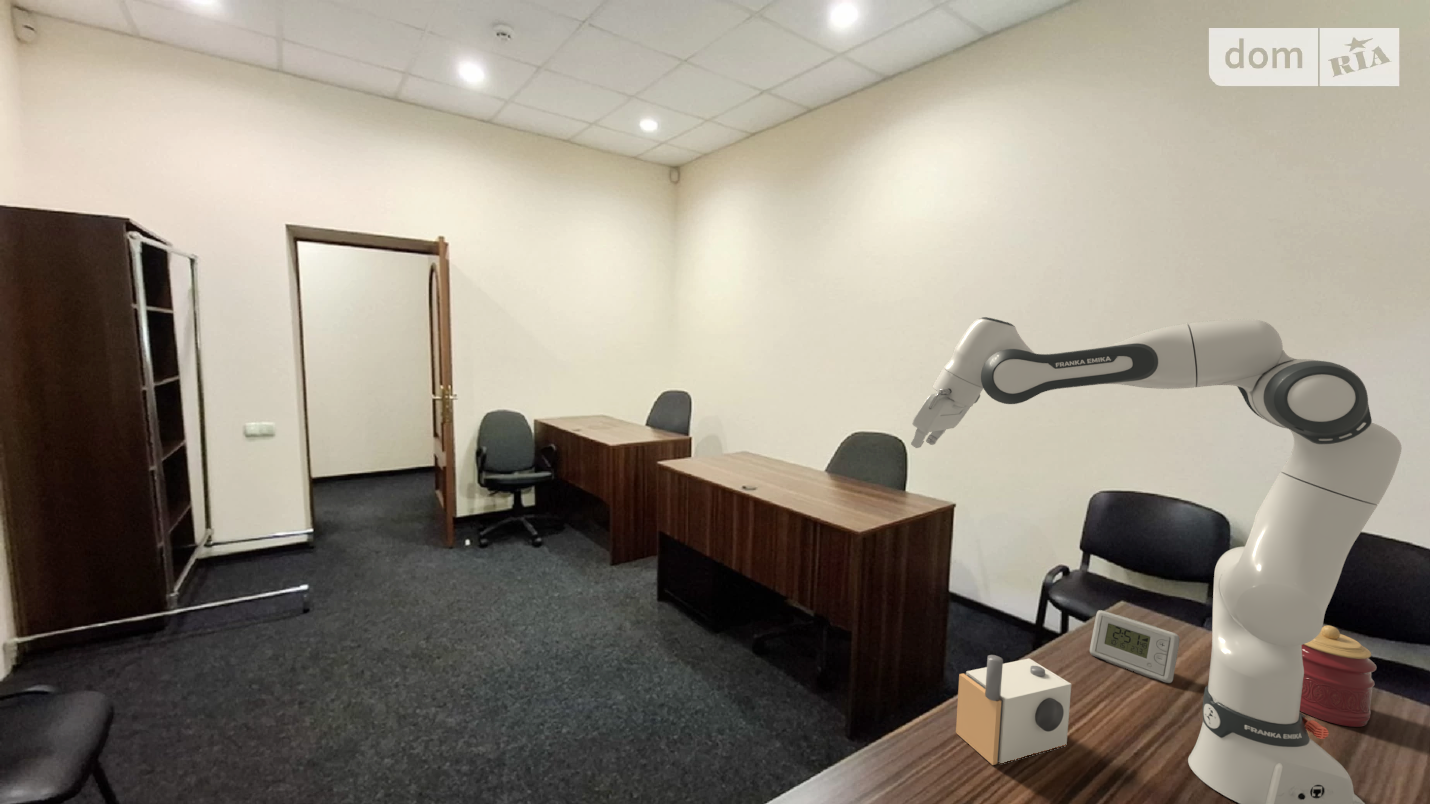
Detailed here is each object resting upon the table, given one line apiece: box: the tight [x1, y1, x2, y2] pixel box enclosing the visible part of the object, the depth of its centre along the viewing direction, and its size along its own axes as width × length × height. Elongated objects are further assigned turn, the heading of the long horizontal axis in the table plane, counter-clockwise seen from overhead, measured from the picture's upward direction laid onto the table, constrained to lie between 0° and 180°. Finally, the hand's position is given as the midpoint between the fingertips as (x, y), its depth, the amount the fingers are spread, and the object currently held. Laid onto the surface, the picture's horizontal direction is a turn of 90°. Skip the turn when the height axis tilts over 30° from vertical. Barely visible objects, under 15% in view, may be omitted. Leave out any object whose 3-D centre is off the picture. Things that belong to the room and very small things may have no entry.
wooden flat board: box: [955, 654, 1004, 766], centre depth 101 cm, size 2×9×19 cm, turn 19°
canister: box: [1299, 625, 1377, 728], centre depth 116 cm, size 13×13×18 cm
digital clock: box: [1089, 609, 1180, 684], centre depth 130 cm, size 16×9×11 cm, turn 28°
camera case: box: [965, 658, 1072, 764], centre depth 104 cm, size 16×10×13 cm, turn 109°
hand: (922, 444), depth 121 cm, fingers open, 8 cm apart
